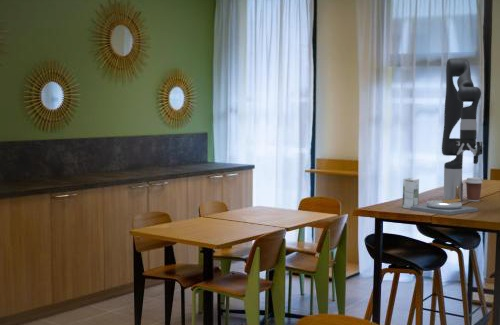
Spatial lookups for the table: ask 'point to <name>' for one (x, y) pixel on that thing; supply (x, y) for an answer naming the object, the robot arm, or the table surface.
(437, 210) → the base
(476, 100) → the robot arm
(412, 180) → the syrup box
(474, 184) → the coffee cup
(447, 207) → the dial
